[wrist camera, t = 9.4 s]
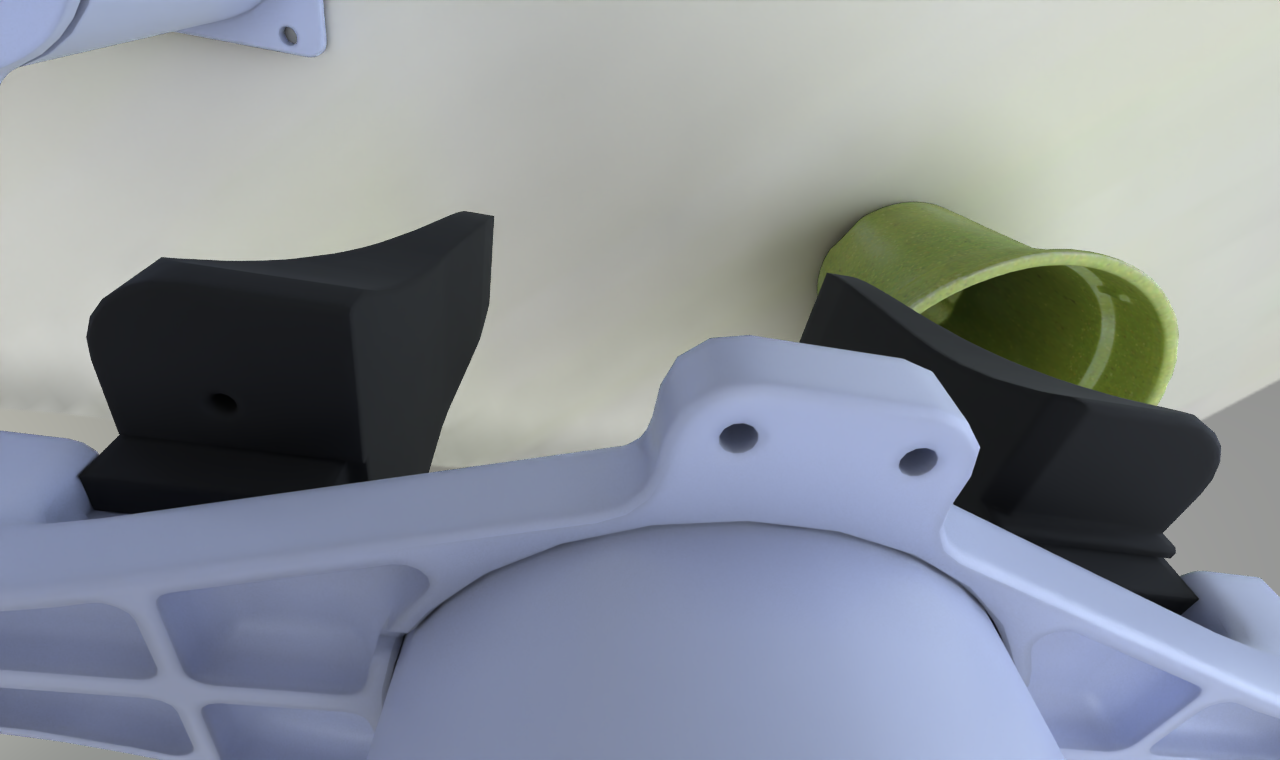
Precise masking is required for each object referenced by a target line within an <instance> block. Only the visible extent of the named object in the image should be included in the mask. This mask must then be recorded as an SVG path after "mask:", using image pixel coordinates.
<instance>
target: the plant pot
mask: <svg viewBox="0 0 1280 760" xmlns="http://www.w3.org/2000/svg"><path fill="white" fill-rule="evenodd" d="M826 273H833V274H839V275H845V276H851V277H855V278H858V279H861V280H863V281H865V282H867V283H869V284H871V285H873V286H875V287H876V288H878V289H880V290H882V291H883V292H885V293H887V294H888V295H890V296H892V297H893V298H895V299H897V300H898V301H900V302H901V303H903V304H905V305H906V306H908V307H910V308H911V309H913V310H914V311H916V312H918V313H919V314H921V315H923V316H924V317H926V318H928V319H929V320H931V321H933V322H934V323H936V324H938V325H940V326H941V327H943V328H945V329H947V330H949V331H950V332H952V333H954V334H956V335H958V336H959V337H961V338H963V339H965V340H967V341H969V342H971V343H973V344H975V345H977V346H979V347H981V348H983V349H985V350H988V351H990V352H992V353H994V354H996V355H998V356H1001V357H1003V358H1005V359H1007V360H1010V361H1012V362H1015V363H1017V364H1019V365H1022V366H1024V367H1027V368H1030V369H1033V370H1035V371H1038V372H1041V373H1043V374H1046V375H1049V376H1051V377H1054V378H1057V379H1060V380H1063V381H1066V382H1069V383H1072V384H1075V385H1078V386H1082V387H1085V388H1089V389H1092V390H1096V391H1099V392H1102V393H1106V394H1109V395H1113V396H1117V397H1120V398H1125V399H1129V400H1133V401H1138V402H1142V403H1146V404H1151V405H1155V406H1157V405H1158V403H1159V402H1160V400H1161V398H1162V396H1163V395H1164V393H1165V390H1166V386H1167V384H1168V382H1169V381H1170V379H1171V377H1172V375H1173V371H1174V367H1175V364H1176V361H1177V346H1178V339H1179V332H1178V325H1177V318H1176V315H1175V313H1174V311H1173V309H1172V307H1171V305H1170V302H1169V300H1168V298H1167V297H1166V295H1165V294H1164V293H1163V291H1162V289H1161V288H1160V287H1159V286H1158V285H1157V284H1156V283H1155V282H1154V280H1153V279H1152V278H1150V277H1149V276H1148V275H1146V274H1145V273H1144V272H1142V271H1141V270H1139V269H1137V268H1135V267H1134V266H1132V265H1130V264H1128V263H1126V262H1123V261H1121V260H1119V259H1116V258H1113V257H1110V256H1107V255H1103V254H1099V253H1094V252H1089V251H1082V250H1073V249H1048V250H1045V249H1036V248H1031V247H1029V246H1027V245H1025V244H1022V243H1020V242H1018V241H1016V240H1013V239H1011V238H1009V237H1006V236H1004V235H1002V234H1000V233H998V232H995V231H993V230H991V229H989V228H986V227H984V226H982V225H980V224H978V223H976V222H973V221H971V220H969V219H967V218H965V217H963V216H961V215H958V214H956V213H954V212H952V211H949V210H947V209H945V208H943V207H940V206H937V205H934V204H929V203H922V202H907V203H899V204H894V205H891V206H887V207H884V208H881V209H879V210H876V211H874V212H872V213H870V214H868V215H866V216H865V217H863V218H861V219H860V220H859V221H858V222H857V223H856V224H855V225H854V226H853V227H852V228H851V229H850V231H849V232H848V233H847V234H846V235H845V236H844V237H843V238H842V239H841V240H840V241H839V242H838V243H837V244H836V245H835V246H833V247H832V248H831V249H830V250H829V252H828V254H827V256H826V257H825V259H824V262H823V264H822V267H821V270H820V273H819V277H818V285H817V295H818V294H819V291H820V289H821V286H822V284H823V281H824V278H825V276H826Z"/></svg>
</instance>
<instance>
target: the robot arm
mask: <svg viewBox="0 0 1280 760" xmlns="http://www.w3.org/2000/svg"><path fill="white" fill-rule="evenodd" d="M286 26H288V27H290V28H292V29H293V30H294V32H295V33H296V35H297V43H296V44H294V43H291V42H290V41H289V40H288V39H287V38H286V36H285V33H284V31H285V27H286ZM173 31H174V32H179V33H184V34H189V35H195V36H200V37H205V38H210V39H216V40H221V41H226V42H231V43H236V44H242V45H247V46H252V47H257V48H263V49H268V50H273V51H278V52H284V53H289V54H294V55H299V56H305V57H315V56H318V55H320V54H322V53H323V52H324V50H325V49H326V44H327V38H326V27H325V15H324V4H323V0H0V84H1V82H2V81H3V79H4V78H5V77H6V76H7V74H8V73H10V72H11V71H12V70H14V69H16V68H18V67H21V66H26V65H30V64H34V63H39V62H43V61H47V60H52V59H56V58H60V57H65V56H69V55H73V54H78V53H82V52H86V51H91V50H95V49H99V48H104V47H108V46H112V45H117V44H121V43H125V42H130V41H134V40H138V39H143V38H147V37H151V36H156V35H160V34H164V33H169V32H173ZM493 228H494V216H490V215H484V214H478V213H473V212H467V211H462V212H458V213H455V214H452V215H450V216H447V217H445V218H443V219H440V220H438V221H436V222H433V223H431V224H429V225H426V226H424V227H422V228H419V229H417V230H414V231H412V232H409V233H406V234H403V235H401V236H398V237H395V238H392V239H389V240H387V241H384V242H381V243H378V244H374V245H371V246H367V247H363V248H359V249H354V250H350V251H345V252H340V253H335V254H328V255H320V256H312V257H305V258H297V259H286V260H268V261H217V260H197V259H177V258H165V257H161V258H160V259H158V260H157V261H156V262H154V263H153V264H151V265H150V266H149V267H147V268H146V269H144V270H143V271H141V272H140V273H139V274H137V275H136V276H134V277H133V278H132V279H130V280H129V281H127V282H126V283H124V284H123V285H122V286H120V287H119V288H117V289H116V290H114V291H113V292H112V293H110V294H109V295H107V296H106V297H105V298H103V299H102V300H101V302H100V303H99V304H98V306H97V307H96V309H95V310H94V311H93V313H92V314H91V316H90V319H89V325H88V331H87V336H86V338H87V343H88V347H89V352H90V357H91V361H92V364H93V366H94V369H95V371H96V374H97V377H98V379H99V382H100V385H101V387H102V390H103V393H104V395H105V398H106V401H107V403H108V406H109V409H110V411H111V414H112V416H113V419H114V422H115V424H116V427H117V430H118V432H119V434H120V435H119V436H118V437H117V438H116V439H115V440H114V441H113V442H112V443H111V444H110V445H109V446H108V447H107V448H106V449H105V450H104V451H103V452H102V453H101V454H100V455H99V454H98V452H97V451H96V450H94V449H93V448H91V447H90V446H88V445H86V444H85V443H82V442H79V441H76V440H72V439H67V438H59V437H50V436H42V435H34V434H25V433H16V432H8V431H0V734H7V735H15V736H22V737H30V738H38V739H45V740H53V741H60V742H66V743H73V744H78V745H84V746H90V747H95V748H101V749H107V750H112V751H117V752H123V753H129V754H134V755H139V756H144V757H149V758H154V759H159V760H1280V597H1279V596H1278V595H1277V594H1276V593H1275V592H1274V591H1273V590H1272V589H1271V588H1270V587H1269V586H1268V585H1267V584H1266V583H1265V582H1264V581H1263V580H1262V579H1261V578H1259V577H1251V576H1243V575H1235V574H1226V573H1217V572H1209V571H1194V572H1190V573H1187V574H1185V575H1181V576H1179V575H1178V574H1177V573H1176V572H1175V570H1174V569H1173V568H1172V567H1171V566H1170V565H1169V564H1168V562H1167V561H1166V560H1165V559H1164V558H1171V557H1172V556H1173V555H1174V554H1175V553H1176V550H1175V547H1174V545H1173V544H1172V543H1171V542H1170V541H1169V540H1168V539H1167V538H1166V537H1165V535H1164V534H1163V532H1164V531H1165V530H1166V529H1167V528H1168V527H1169V526H1170V525H1171V524H1172V523H1173V522H1174V521H1175V520H1176V519H1177V518H1178V517H1179V516H1180V515H1181V514H1182V513H1183V512H1184V511H1185V510H1186V509H1187V507H1189V505H1191V503H1192V502H1194V500H1196V498H1197V497H1198V496H1199V495H1200V494H1201V493H1202V492H1203V491H1204V489H1205V488H1206V487H1207V486H1208V484H1209V483H1210V482H1211V481H1212V479H1213V477H1214V474H1215V472H1216V470H1217V468H1218V465H1219V463H1220V455H1221V445H1220V443H1219V441H1218V439H1217V436H1216V435H1215V433H1214V432H1213V431H1212V430H1211V429H1210V428H1208V427H1207V426H1206V425H1205V424H1204V423H1203V422H1202V421H1200V420H1199V419H1198V418H1197V417H1196V416H1195V415H1192V414H1189V413H1185V412H1181V411H1177V410H1172V409H1168V408H1164V407H1159V406H1155V405H1151V404H1146V403H1142V402H1138V401H1133V400H1129V399H1125V398H1120V397H1117V396H1113V395H1109V394H1106V393H1102V392H1099V391H1096V390H1092V389H1089V388H1085V387H1082V386H1078V385H1075V384H1072V383H1069V382H1066V381H1063V380H1060V379H1057V378H1054V377H1051V376H1049V375H1046V374H1043V373H1041V372H1038V371H1035V370H1033V369H1030V368H1027V367H1024V366H1022V365H1019V364H1017V363H1015V362H1012V361H1010V360H1007V359H1005V358H1003V357H1001V356H998V355H996V354H994V353H992V352H990V351H988V350H985V349H983V348H981V347H979V346H977V345H975V344H973V343H971V342H969V341H967V340H965V339H963V338H961V337H959V336H958V335H956V334H954V333H952V332H950V331H949V330H947V329H945V328H943V327H941V326H940V325H938V324H936V323H934V322H933V321H931V320H929V319H928V318H926V317H924V316H923V315H921V314H919V313H918V312H916V311H914V310H913V309H911V308H910V307H908V306H906V305H905V304H903V303H901V302H900V301H898V300H897V299H895V298H893V297H892V296H890V295H888V294H887V293H885V292H883V291H882V290H880V289H878V288H876V287H875V286H873V285H871V284H869V283H867V282H865V281H863V280H861V279H858V278H855V277H851V276H845V275H839V274H833V273H826V276H825V278H824V281H823V284H822V286H821V289H820V291H819V294H818V296H817V299H816V301H815V304H814V307H813V309H812V312H811V314H810V317H809V319H808V322H807V324H806V327H805V329H804V332H803V335H802V337H801V340H800V342H799V343H798V342H791V341H785V340H778V339H772V338H765V337H759V336H752V335H744V336H730V337H717V338H710V339H708V340H706V341H704V342H703V343H701V344H699V345H697V346H696V347H694V348H692V349H690V350H689V351H687V352H685V353H683V354H682V355H680V356H678V357H677V358H676V360H675V362H674V363H673V365H672V367H671V368H670V370H669V372H668V373H667V375H666V376H665V378H664V380H663V381H662V383H661V385H660V388H659V392H658V396H657V400H656V404H655V408H654V412H653V416H652V418H651V421H650V423H649V425H648V428H647V430H646V431H645V432H644V433H643V435H642V436H641V437H640V438H639V439H637V440H635V441H633V442H631V443H629V444H627V445H624V446H617V447H610V448H603V449H595V450H588V451H581V452H574V453H567V454H560V455H552V456H545V457H538V458H531V459H524V460H517V461H509V462H502V463H495V464H488V465H481V466H473V467H466V468H459V469H452V470H445V471H438V472H431V473H429V470H430V466H431V462H432V459H433V456H434V452H435V449H436V446H437V442H438V439H439V436H440V432H441V429H442V426H443V423H444V420H445V418H446V415H447V412H448V410H449V408H450V405H451V403H452V401H453V399H454V396H455V394H456V392H457V390H458V388H459V385H460V383H461V381H462V379H463V376H464V374H465V372H466V370H467V367H468V365H469V363H470V361H471V358H472V356H473V354H474V352H475V349H476V347H477V345H478V342H479V340H480V337H481V333H482V330H483V326H484V323H485V319H486V315H487V311H488V307H489V300H490V282H491V264H492V246H493Z"/></svg>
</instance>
